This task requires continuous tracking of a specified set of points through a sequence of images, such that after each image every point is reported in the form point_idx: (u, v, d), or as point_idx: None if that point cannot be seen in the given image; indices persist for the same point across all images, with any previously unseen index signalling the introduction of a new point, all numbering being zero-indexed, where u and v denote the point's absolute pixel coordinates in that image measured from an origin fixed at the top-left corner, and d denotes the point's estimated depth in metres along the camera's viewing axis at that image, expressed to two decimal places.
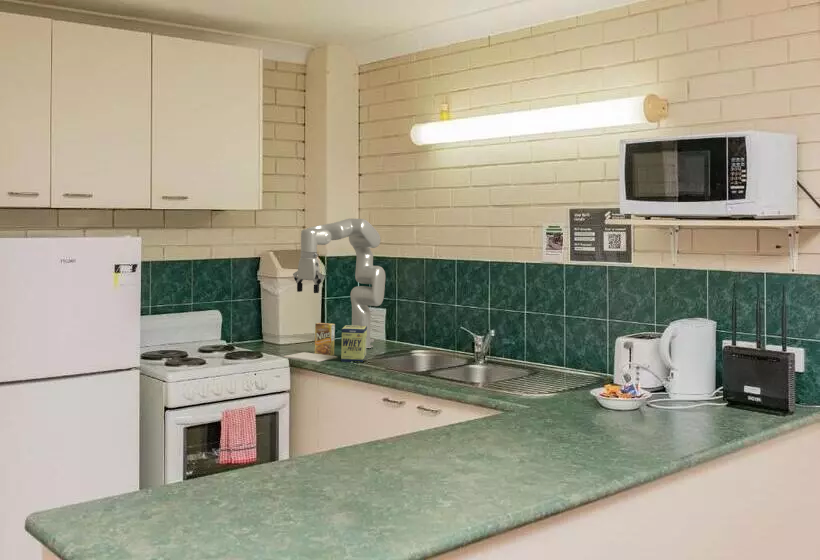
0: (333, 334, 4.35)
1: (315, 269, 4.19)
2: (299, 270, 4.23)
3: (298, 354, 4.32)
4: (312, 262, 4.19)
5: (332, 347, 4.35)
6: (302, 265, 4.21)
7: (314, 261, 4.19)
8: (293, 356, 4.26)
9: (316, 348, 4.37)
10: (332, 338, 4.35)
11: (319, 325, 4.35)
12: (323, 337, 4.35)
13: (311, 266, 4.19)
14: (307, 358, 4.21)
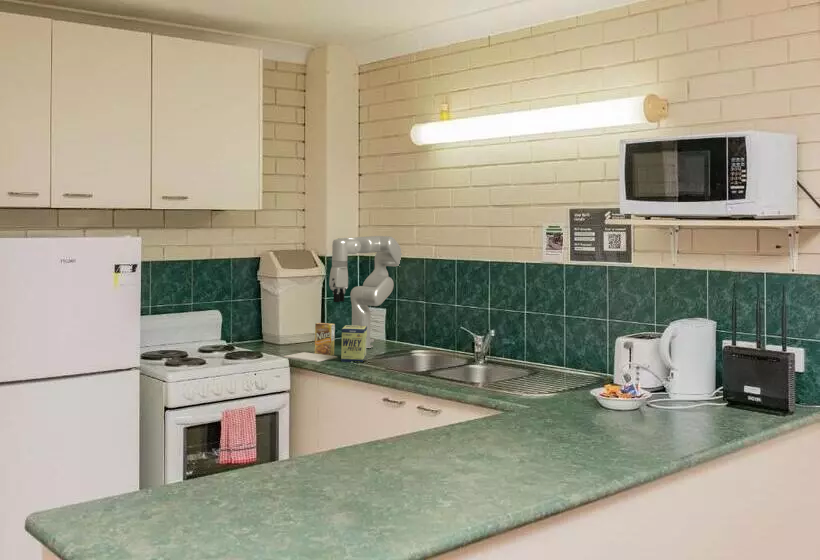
0: (332, 334, 4.35)
1: None
2: (338, 279, 4.40)
3: (298, 354, 4.32)
4: (347, 270, 4.46)
5: (332, 347, 4.35)
6: (342, 273, 4.42)
7: None
8: (293, 356, 4.26)
9: (316, 348, 4.37)
10: (332, 338, 4.35)
11: (319, 325, 4.35)
12: (323, 337, 4.35)
13: (347, 274, 4.46)
14: (307, 358, 4.21)
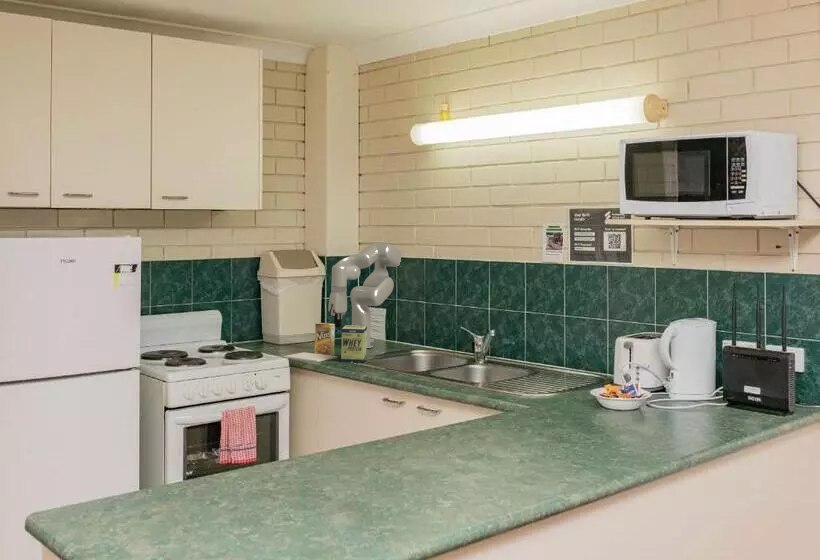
0: (333, 334, 4.35)
1: None
2: (337, 305, 4.41)
3: (298, 354, 4.32)
4: (346, 295, 4.47)
5: (332, 347, 4.35)
6: (341, 299, 4.42)
7: None
8: (293, 356, 4.26)
9: (316, 348, 4.37)
10: (332, 338, 4.35)
11: (319, 325, 4.35)
12: (323, 337, 4.35)
13: (346, 299, 4.47)
14: (307, 358, 4.21)
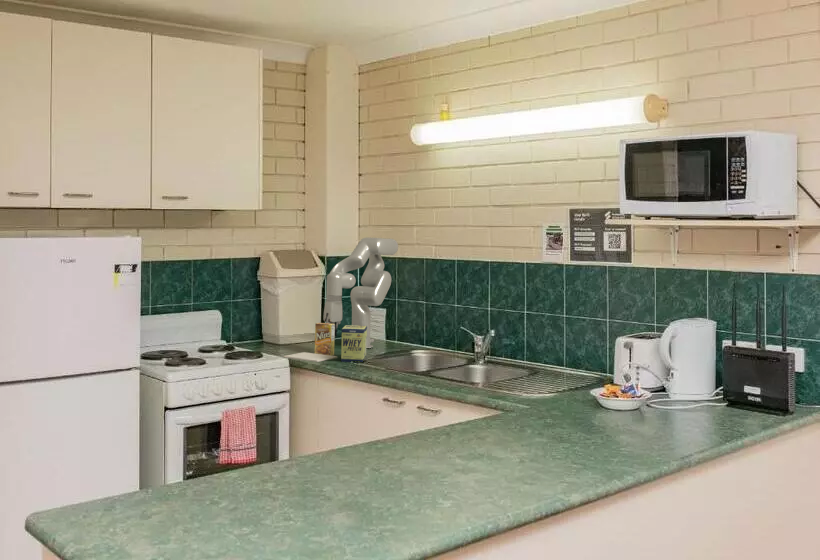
0: (333, 334, 4.35)
1: None
2: (332, 314, 4.38)
3: (298, 354, 4.32)
4: (341, 304, 4.44)
5: (332, 347, 4.35)
6: (336, 308, 4.39)
7: None
8: (293, 356, 4.26)
9: (316, 348, 4.37)
10: (332, 338, 4.35)
11: (319, 325, 4.35)
12: (323, 337, 4.35)
13: (341, 308, 4.44)
14: (307, 358, 4.21)
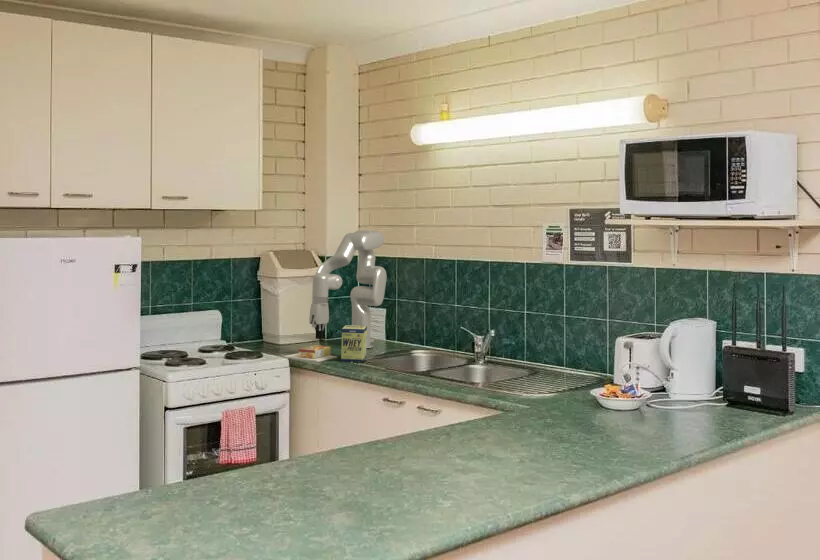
0: (320, 353, 4.25)
1: None
2: (318, 316, 4.28)
3: (298, 354, 4.32)
4: None
5: (326, 352, 4.30)
6: (322, 310, 4.30)
7: None
8: (293, 356, 4.26)
9: None
10: (322, 353, 4.26)
11: None
12: None
13: (327, 310, 4.34)
14: (307, 358, 4.21)
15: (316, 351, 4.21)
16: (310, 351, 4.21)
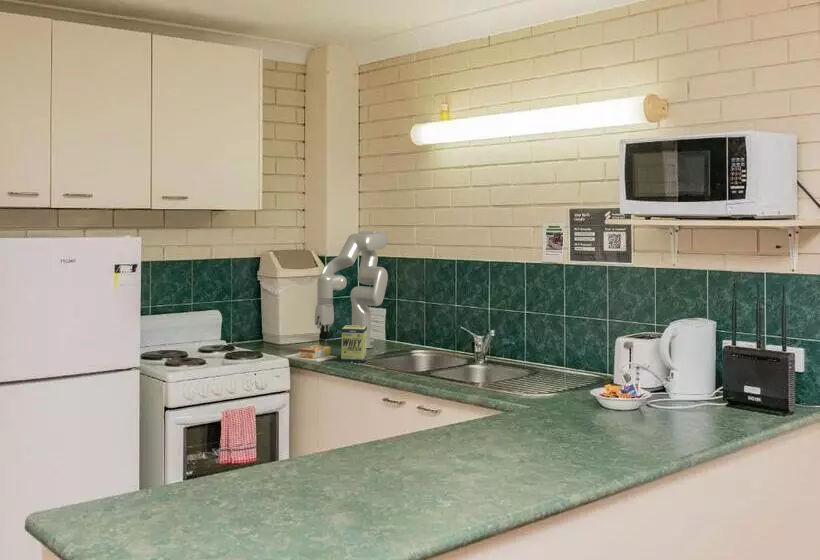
0: (320, 353, 4.25)
1: None
2: (323, 317, 4.32)
3: (298, 354, 4.32)
4: None
5: (326, 352, 4.30)
6: (327, 311, 4.33)
7: None
8: (293, 356, 4.26)
9: None
10: (322, 353, 4.26)
11: None
12: None
13: (332, 311, 4.38)
14: (307, 358, 4.21)
15: (316, 351, 4.21)
16: (310, 351, 4.21)
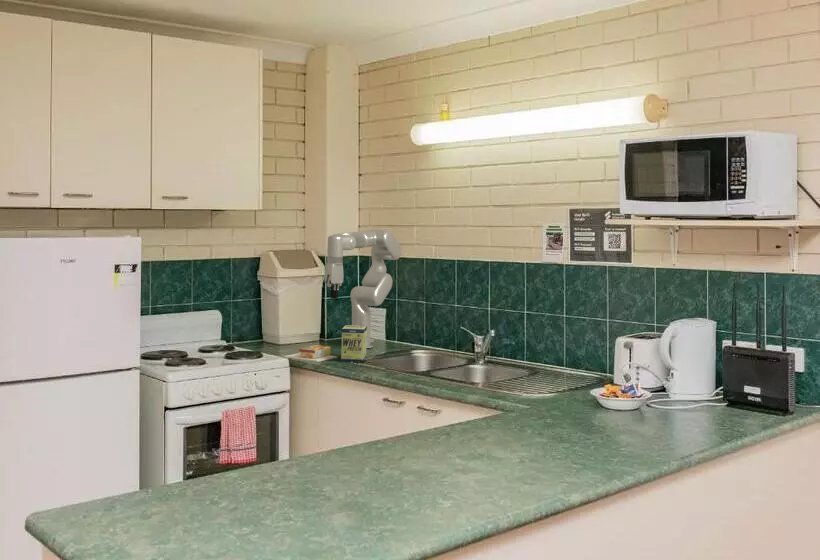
0: (320, 353, 4.25)
1: None
2: (333, 275, 4.36)
3: (298, 354, 4.32)
4: (342, 266, 4.43)
5: (326, 352, 4.30)
6: (337, 270, 4.38)
7: None
8: (293, 356, 4.26)
9: None
10: (322, 353, 4.26)
11: None
12: None
13: (342, 270, 4.42)
14: (307, 358, 4.21)
15: (316, 351, 4.21)
16: (310, 351, 4.21)
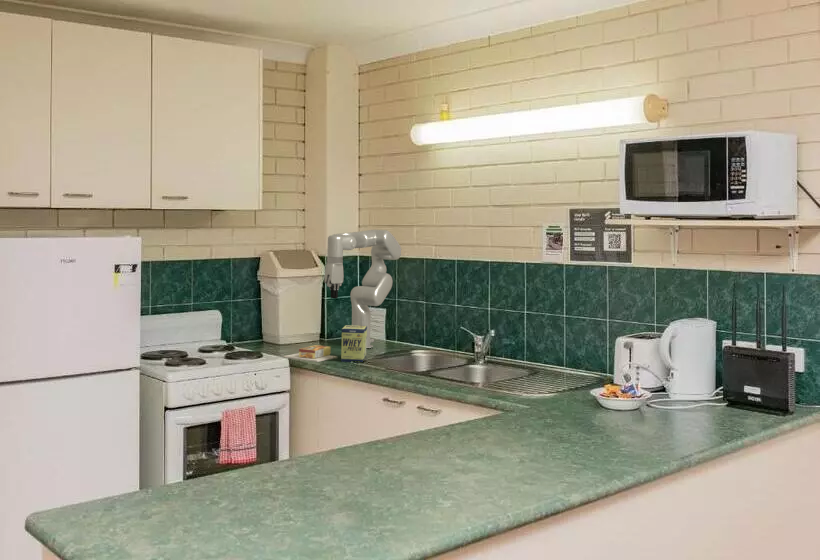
0: (320, 353, 4.25)
1: None
2: (333, 275, 4.36)
3: (298, 354, 4.32)
4: (342, 266, 4.43)
5: (326, 352, 4.30)
6: (337, 270, 4.38)
7: None
8: (293, 356, 4.26)
9: None
10: (322, 353, 4.26)
11: None
12: None
13: (342, 270, 4.42)
14: (307, 358, 4.21)
15: (316, 351, 4.21)
16: (310, 351, 4.21)
